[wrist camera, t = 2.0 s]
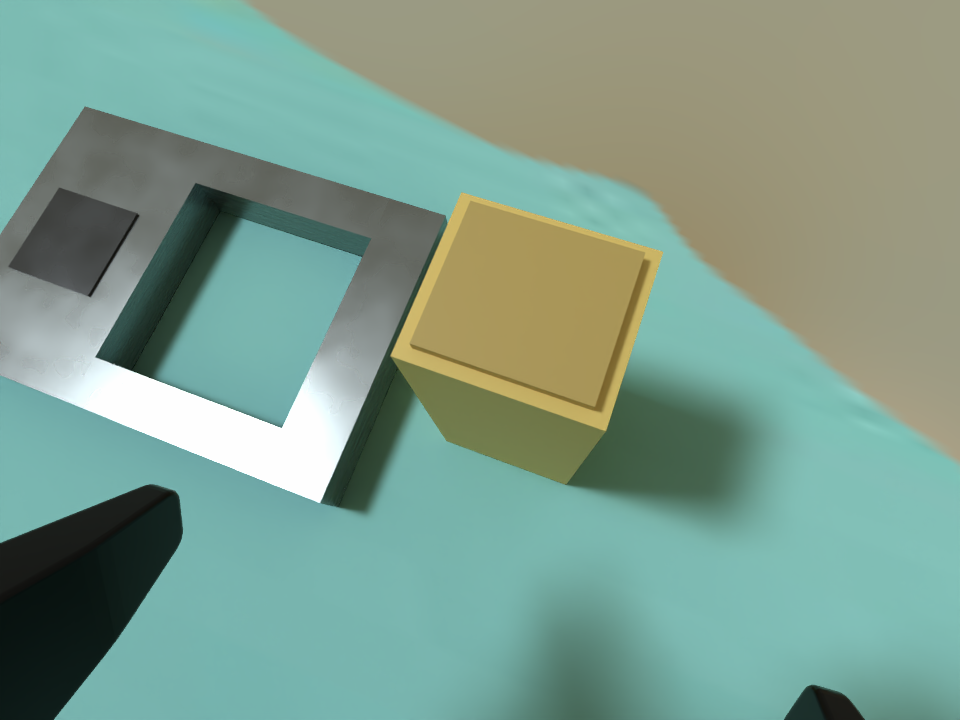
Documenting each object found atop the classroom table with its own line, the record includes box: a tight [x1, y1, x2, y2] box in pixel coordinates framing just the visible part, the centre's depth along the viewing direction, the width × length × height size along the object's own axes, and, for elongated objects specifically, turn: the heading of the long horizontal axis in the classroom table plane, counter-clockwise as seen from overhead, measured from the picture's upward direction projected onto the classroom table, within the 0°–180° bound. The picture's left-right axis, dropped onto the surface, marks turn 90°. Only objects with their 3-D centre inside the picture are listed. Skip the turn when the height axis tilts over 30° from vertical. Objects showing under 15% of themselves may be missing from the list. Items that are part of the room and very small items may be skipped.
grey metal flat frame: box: [0, 107, 448, 507], centre depth 23 cm, size 11×16×2 cm
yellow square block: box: [391, 192, 663, 485], centre depth 17 cm, size 4×4×10 cm
